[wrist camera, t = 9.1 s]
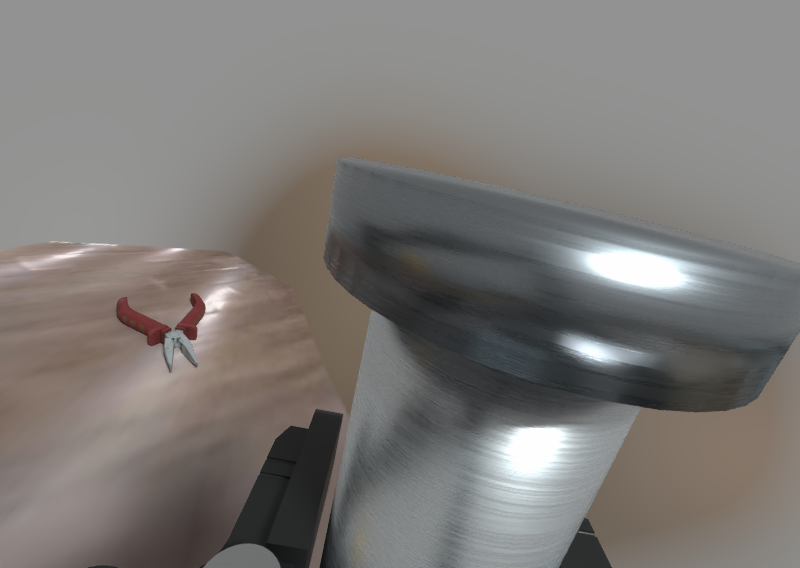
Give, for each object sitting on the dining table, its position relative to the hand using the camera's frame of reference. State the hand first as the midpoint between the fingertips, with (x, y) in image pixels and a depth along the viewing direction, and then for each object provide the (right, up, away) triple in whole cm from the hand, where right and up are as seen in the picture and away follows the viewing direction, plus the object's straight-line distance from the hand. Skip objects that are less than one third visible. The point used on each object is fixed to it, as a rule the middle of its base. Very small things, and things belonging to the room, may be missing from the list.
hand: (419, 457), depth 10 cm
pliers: (-35, -3, +43) cm, 56 cm away
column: (-3, -14, +2) cm, 14 cm away
